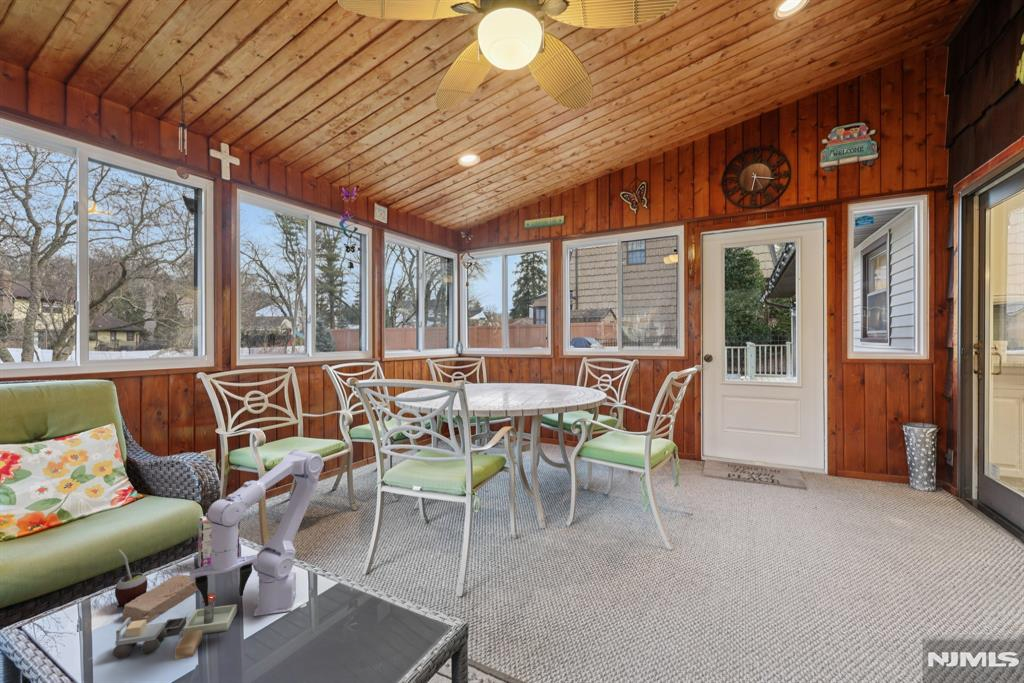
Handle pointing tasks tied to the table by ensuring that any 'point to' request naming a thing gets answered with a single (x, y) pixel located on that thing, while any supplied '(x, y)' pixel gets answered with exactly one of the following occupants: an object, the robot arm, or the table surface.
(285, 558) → the robot arm
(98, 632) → the table surface
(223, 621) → the tray
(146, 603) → the brick
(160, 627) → the trolley
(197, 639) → the block
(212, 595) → the pin
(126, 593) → the mate gourd
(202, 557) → the candy bar box
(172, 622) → the socket
